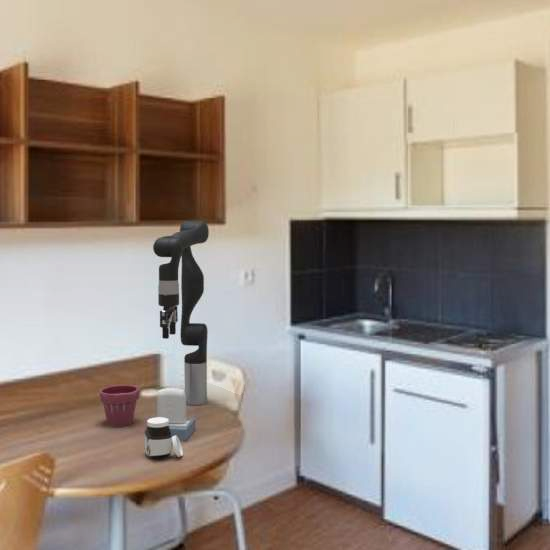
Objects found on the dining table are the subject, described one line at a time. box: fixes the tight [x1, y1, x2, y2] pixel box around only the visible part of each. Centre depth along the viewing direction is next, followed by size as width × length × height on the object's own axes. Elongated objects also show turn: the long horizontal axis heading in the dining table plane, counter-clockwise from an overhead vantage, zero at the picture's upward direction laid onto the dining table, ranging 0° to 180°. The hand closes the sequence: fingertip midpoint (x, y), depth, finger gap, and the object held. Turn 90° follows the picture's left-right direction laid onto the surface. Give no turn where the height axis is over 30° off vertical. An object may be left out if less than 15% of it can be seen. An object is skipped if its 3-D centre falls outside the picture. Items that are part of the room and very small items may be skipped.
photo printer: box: [156, 387, 187, 423], centre depth 234 cm, size 10×4×12 cm, turn 88°
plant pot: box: [99, 384, 140, 427], centre depth 247 cm, size 14×14×13 cm
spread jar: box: [144, 416, 184, 460], centre depth 213 cm, size 12×11×12 cm
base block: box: [168, 417, 197, 442], centre depth 235 cm, size 13×14×4 cm
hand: (169, 336), depth 243 cm, fingers open, 8 cm apart
